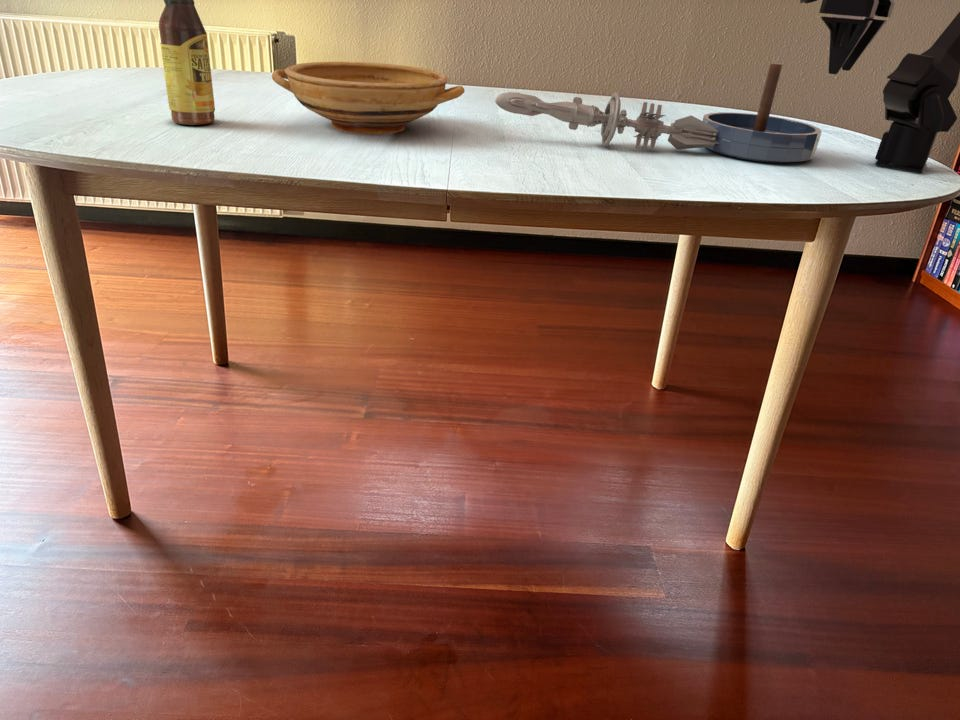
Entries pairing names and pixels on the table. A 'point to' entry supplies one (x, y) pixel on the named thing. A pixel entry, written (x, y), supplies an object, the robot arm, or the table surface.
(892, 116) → the robot arm
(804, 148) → the mixing bowl
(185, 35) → the sauce bottle
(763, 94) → the stirring stick
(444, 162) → the table surface
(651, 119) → the spaceship
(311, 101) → the ceramic bowl
